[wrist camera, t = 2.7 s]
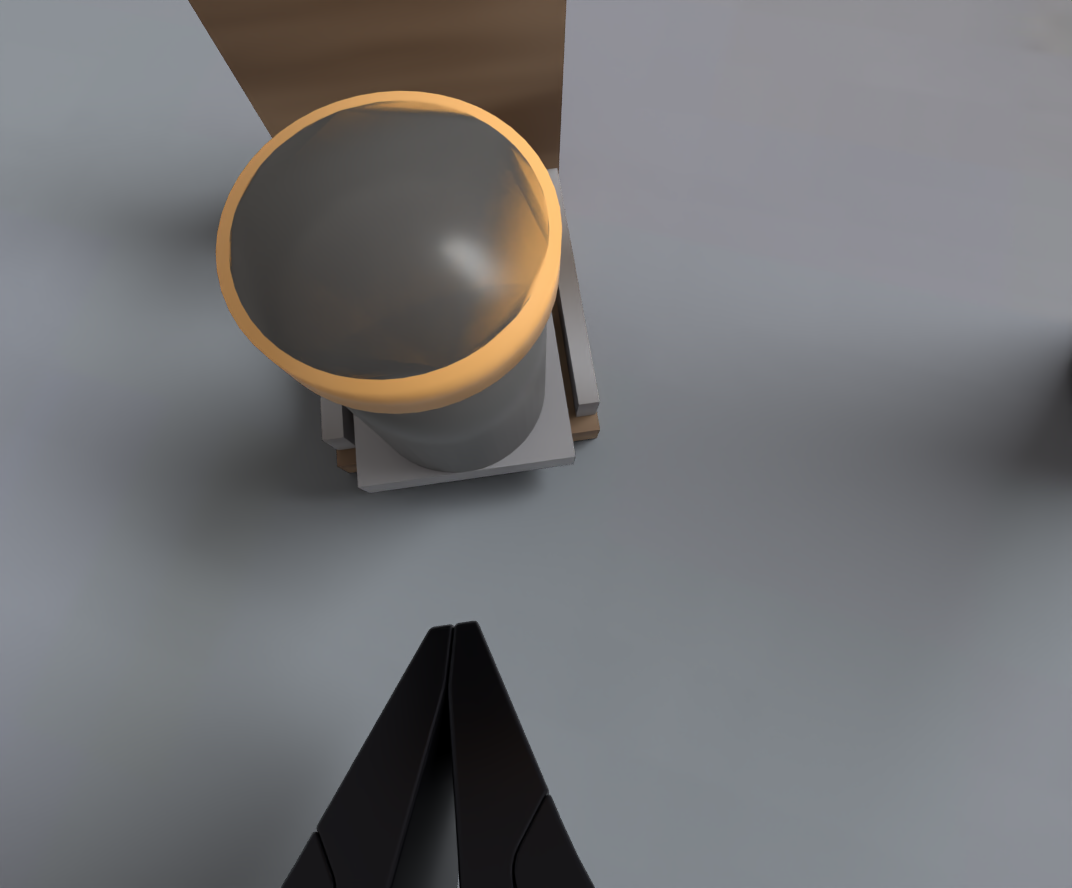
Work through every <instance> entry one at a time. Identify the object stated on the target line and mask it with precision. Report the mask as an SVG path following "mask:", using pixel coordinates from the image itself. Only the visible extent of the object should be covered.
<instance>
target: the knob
mask: <svg viewBox="0 0 1072 888" xmlns="http://www.w3.org/2000/svg"><path fill="white" fill-rule="evenodd" d="M561 239H562V222H561V212H560V206H559V202H558V198H557V194H556V190H555V187H554V185H553V183H552V180H551V178H550V176H549V173H548V171H547V170H546V168H545V166H544V165H543V163H542V161H541V160H540V158H539V156H538V155H537V154H536V153H535V151H534V150H533V149H532V148H531V146H530V145H529V144H528V143H527V142H526V140H524V139H523V138H522V137H521V136H520V135H519V134H518V133H517V132H516V131H515V130H514V129H513V128H511V127H510V126H509V125H507V124H506V123H504V122H503V121H502V120H500V119H499V118H497V117H496V116H494V115H492V114H490V113H489V112H487V111H485V110H483V109H481V108H479V107H477V106H474V105H472V104H469V103H467V102H464V101H461V100H459V99H455V98H451V97H447V96H443V95H439V94H433V93H426V92H417V91H389V92H376V93H371V94H365V95H359V96H355V97H351V98H348V99H344V100H341V101H337V102H334V103H332V104H329V105H327V106H324V107H322V108H319V109H317V110H315V111H313V112H311V113H309V114H307V115H306V116H304V117H302V118H300V119H298V120H297V121H295V122H294V123H292V124H291V125H289V126H288V127H286V128H285V129H283V130H282V131H280V132H279V133H278V134H277V135H276V136H275V137H273V138H272V139H271V140H270V141H269V142H268V143H266V144H265V145H264V146H263V147H262V148H261V149H260V151H259V152H258V153H257V154H256V155H255V156H254V157H253V158H252V159H251V160H250V162H249V163H248V164H247V166H246V167H245V169H244V170H243V171H242V173H241V174H240V176H239V177H238V179H237V181H236V183H235V184H234V186H233V188H232V190H231V192H230V193H229V196H228V198H227V201H226V204H225V206H224V209H223V211H222V215H221V219H220V223H219V227H218V232H217V243H216V263H217V274H218V278H219V283H220V287H221V291H222V294H223V296H224V299H225V301H226V304H227V306H228V309H229V311H230V313H231V314H232V316H233V318H234V319H235V321H236V323H237V324H238V326H239V328H240V329H241V330H242V331H243V333H244V334H245V335H246V336H247V338H248V339H249V340H250V341H251V342H252V344H253V345H254V346H256V347H257V348H258V349H259V350H260V351H261V352H262V353H263V354H265V355H266V356H267V357H268V358H269V359H270V360H272V361H273V362H274V363H275V364H277V365H278V366H279V367H280V368H281V369H283V370H284V371H285V372H286V373H288V374H289V375H290V376H291V377H293V378H294V379H295V380H296V381H298V382H299V383H300V384H302V385H303V386H305V387H306V388H308V389H309V390H311V391H312V392H314V393H315V394H317V395H319V396H321V397H324V398H326V399H328V400H330V401H332V402H334V403H337V404H340V405H343V406H345V407H346V408H348V409H349V410H350V411H351V412H352V413H353V414H354V431H355V447H356V464H357V480H358V488H360V489H362V490H365V491H367V492H369V493H373V492H380V491H387V490H394V489H401V488H408V487H415V486H422V485H429V484H436V483H443V482H450V481H457V480H464V479H471V478H478V477H485V476H492V475H499V474H506V473H513V472H520V471H528V470H535V469H542V468H549V467H556V466H563V465H570V464H573V463H574V460H575V450H574V444H573V438H572V432H571V426H570V420H569V414H568V408H567V402H566V396H565V390H564V384H563V378H562V372H561V366H560V360H559V354H558V348H557V342H556V336H555V330H554V324H553V317H552V308H553V306H554V303H555V299H556V294H557V289H558V284H559V273H560V257H561Z"/></svg>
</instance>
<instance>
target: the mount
mask: <svg viewBox="0 0 1072 888" xmlns="http://www.w3.org/2000/svg"><path fill="white" fill-rule="evenodd" d="M188 1H189V2H190V4H191V6H192V7H193V9H194V11H195V12H196V14H197V15H198V17H199V19H200V20H201V22H202V24H203V25H204V27H205V29H206V30H207V32H208V33H209V35H210V37H211V38H212V40H213V42H214V43H215V45H216V47H217V48H218V50H219V51H220V53H221V55H222V56H223V58H224V60H225V61H226V63H227V65H228V66H229V68H230V69H231V71H232V73H233V74H234V76H235V78H236V79H237V81H238V83H239V84H240V86H241V87H242V89H243V91H244V92H245V94H246V96H247V97H248V99H249V101H250V102H251V104H252V105H253V107H254V109H255V110H256V112H257V114H258V115H259V117H260V119H261V120H262V122H263V123H264V125H265V127H266V128H267V130H268V132H269V133H270V135H271V137H272V138H273V137H275V136H276V135H277V134H278V133H279V132H280V131H282V130H283V129H285V128H286V127H288V126H289V125H291V124H292V123H294V122H295V121H297V120H298V119H300V118H302V117H304V116H306V115H307V114H309V113H311V112H313V111H315V110H317V109H319V108H322V107H324V106H327V105H329V104H332V103H334V102H337V101H341V100H344V99H348V98H351V97H355V96H359V95H365V94H371V93H376V92H389V91H417V92H426V93H433V94H439V95H443V96H447V97H451V98H455V99H459V100H461V101H464V102H467V103H469V104H472V105H474V106H477V107H479V108H481V109H483V110H485V111H487V112H489V113H490V114H492V115H494V116H496V117H497V118H499V119H500V120H502V121H503V122H504V123H506V124H507V125H509V126H510V127H511V128H513V129H514V130H515V131H516V132H517V133H518V134H519V135H520V136H521V137H522V138H523V139H524V140H526V142H527V143H528V144H529V145H530V146H531V148H532V149H533V150H534V151H535V153H536V154H537V155H538V156H539V158H540V160H541V161H542V163H543V165H544V166H545V168H546V170H547V171H548V173H549V176H550V178H551V180H552V183H553V185H554V187H555V190H556V194H557V198H558V202H559V206H560V212H561V222H562V239H561V257H560V273H559V284H558V289H557V294H556V299H555V303H554V306H553V308H552V317H553V324H554V330H555V336H556V342H557V348H558V354H559V360H560V366H561V372H562V378H563V384H564V390H565V396H566V402H567V408H568V414H569V420H570V426H571V432H572V438H573V441H579V440H586V439H593V438H597V436H598V433H599V431H600V427H599V422H598V416H597V409H598V406H599V403H600V400H599V394H598V389H597V383H596V378H595V372H594V367H593V361H592V356H591V350H590V345H589V339H588V334H587V328H586V323H585V318H584V312H583V307H582V301H581V296H580V290H579V285H578V279H577V274H576V268H575V263H574V257H573V252H572V246H571V241H570V235H569V230H568V224H567V219H566V213H565V208H564V202H563V197H562V191H561V186H560V180H559V153H560V131H561V108H562V86H563V64H564V42H565V19H566V0H188ZM320 403H321V426H322V441H324V442H326V443H327V444H329V445H330V446H332V447H334V448H335V449H336V452H337V467H339V468H341V469H343V470H345V471H346V472H348V473H352V472H357V464H356V447H355V431H354V414H353V413H352V412H351V411H350V410H349V409H348V408H346V407H345V406H343V405H340V404H337V403H334V402H332V401H330V400H328V399H326V398H324V397H321V396H320Z"/></svg>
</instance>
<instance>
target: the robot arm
mask: <svg viewBox="0 0 1072 888" xmlns="http://www.w3.org/2000/svg"><path fill="white" fill-rule="evenodd" d="M317 831H318V832H313V833H312V835H311V837H310V839H309V840H308V842H307V844H306V846H305V848H304V849H303V851H302V853H301V855H300V856H299V858H298V860H297V862H296V863H295V865H294V867H293V868H292V870H291V872H290V873H289V875H288V877H287V878H286V880H285V882H284V883H283V885H282V887H281V888H457V885H458V871H459V885H460V888H595V887H594V885H593V883H592V881H591V879H590V878H589V876H588V874H587V872H586V870H585V868H584V866H583V864H582V863H581V861H580V859H579V857H578V855H577V853H576V851H575V849H574V846H573V844H572V842H571V840H570V838H569V835H568V833H567V831H566V829H565V827H564V825H563V822H562V820H561V818H560V815H559V813H558V811H557V808H556V806H555V804H554V801H553V799H552V797H551V795H549V790H548V788H547V785H546V783H545V780H544V778H543V776H542V773H541V771H540V768H539V766H538V764H537V761H536V759H535V757H534V754H533V752H532V749H531V747H530V745H529V742H528V740H527V738H526V735H525V733H524V730H523V728H522V726H521V723H520V721H519V719H518V716H517V714H516V711H515V709H514V707H513V704H512V702H511V700H510V697H509V695H508V692H507V690H506V688H505V685H504V683H503V681H502V678H501V676H500V673H499V671H498V669H497V666H496V664H495V661H494V659H493V657H492V654H491V652H490V650H489V647H488V645H487V642H486V640H485V638H484V635H483V633H482V631H481V628H480V626H479V624H478V622H477V621H469V622H462V623H457V624H456V625H455V627H454V626H453V625H450V624H449V625H442V626H436V627H432V628H431V629H430V630H429V631H428V632H427V634H426V636H425V638H424V639H423V641H422V643H421V645H420V646H419V648H418V650H417V652H416V653H415V655H414V657H413V659H412V660H411V662H410V664H409V666H408V667H407V669H406V671H405V673H404V674H403V676H402V678H401V680H400V681H399V683H398V685H397V687H396V688H395V690H394V692H393V694H392V695H391V697H390V699H389V701H388V702H387V704H386V706H385V708H384V710H383V711H382V713H381V715H380V717H379V718H378V720H377V722H376V724H375V725H374V727H373V729H372V731H371V732H370V734H369V736H368V738H367V739H366V741H365V743H364V745H363V746H362V748H361V750H360V752H359V753H358V755H357V757H356V759H355V760H354V762H353V764H352V766H351V767H350V769H349V771H348V773H347V774H346V776H345V778H344V780H343V781H342V783H341V785H340V787H339V788H338V790H337V792H336V794H335V795H334V797H333V799H332V801H331V802H330V804H329V806H328V808H327V809H326V811H325V813H324V815H323V816H322V818H321V820H320V822H319V823H318V825H317Z"/></svg>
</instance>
